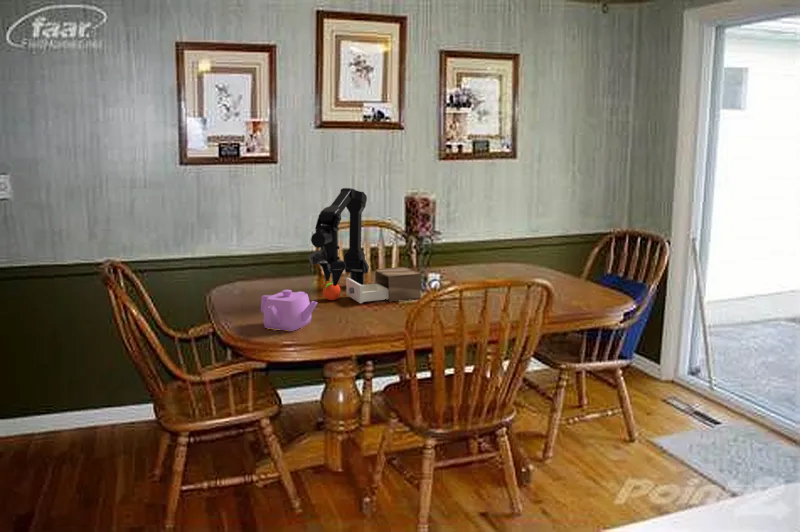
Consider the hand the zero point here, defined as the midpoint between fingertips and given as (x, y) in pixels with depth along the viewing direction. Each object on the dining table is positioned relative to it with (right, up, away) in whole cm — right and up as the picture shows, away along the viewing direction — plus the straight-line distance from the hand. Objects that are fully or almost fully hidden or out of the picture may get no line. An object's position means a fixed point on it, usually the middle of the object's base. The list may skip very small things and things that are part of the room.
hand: (331, 283), depth 277 cm
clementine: (0, -7, +1) cm, 7 cm away
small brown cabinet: (+25, -5, +7) cm, 27 cm away
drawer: (+14, -6, +2) cm, 15 cm away
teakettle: (-11, -14, -34) cm, 38 cm away
